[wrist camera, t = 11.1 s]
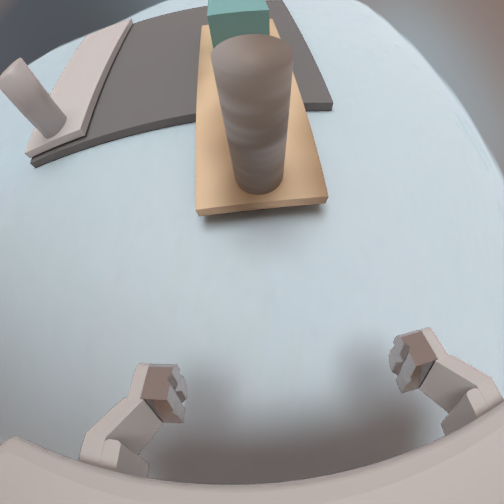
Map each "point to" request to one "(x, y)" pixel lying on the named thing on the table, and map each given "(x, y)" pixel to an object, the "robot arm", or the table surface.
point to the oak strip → (220, 158)
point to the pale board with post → (64, 90)
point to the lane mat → (174, 78)
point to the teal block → (237, 19)
